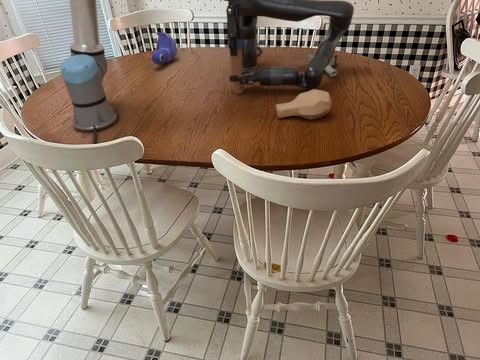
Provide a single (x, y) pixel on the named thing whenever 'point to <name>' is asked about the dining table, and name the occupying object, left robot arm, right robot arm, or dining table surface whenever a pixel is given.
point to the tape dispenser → (329, 65)
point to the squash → (306, 105)
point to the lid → (239, 44)
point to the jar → (237, 71)
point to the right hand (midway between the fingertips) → (231, 76)
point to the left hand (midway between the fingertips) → (235, 52)
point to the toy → (164, 49)
